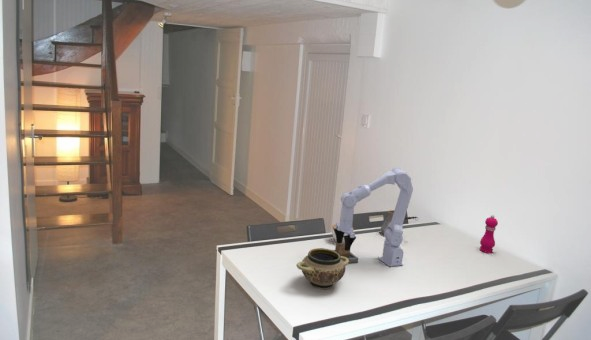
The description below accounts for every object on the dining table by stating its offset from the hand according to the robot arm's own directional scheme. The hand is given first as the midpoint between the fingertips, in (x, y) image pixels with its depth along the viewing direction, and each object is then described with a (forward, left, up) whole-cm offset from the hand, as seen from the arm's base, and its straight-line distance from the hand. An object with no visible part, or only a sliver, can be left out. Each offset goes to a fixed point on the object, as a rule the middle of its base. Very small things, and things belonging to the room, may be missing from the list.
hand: (343, 247), depth 211 cm
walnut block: (0, 0, -5) cm, 5 cm away
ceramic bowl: (-21, +21, -6) cm, 30 cm away
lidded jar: (+20, -11, -6) cm, 24 cm away
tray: (0, 0, -6) cm, 6 cm away
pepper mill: (-6, -84, -6) cm, 84 cm away
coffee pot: (+20, -46, -6) cm, 50 cm away
